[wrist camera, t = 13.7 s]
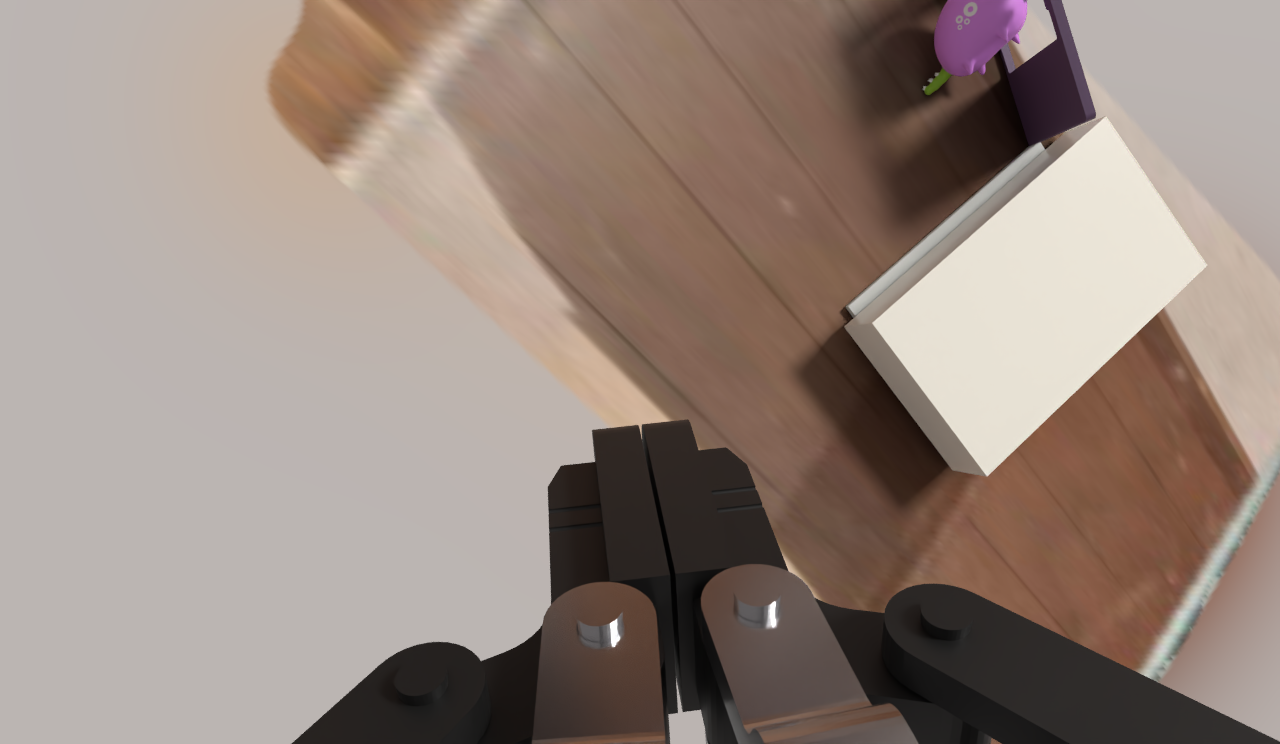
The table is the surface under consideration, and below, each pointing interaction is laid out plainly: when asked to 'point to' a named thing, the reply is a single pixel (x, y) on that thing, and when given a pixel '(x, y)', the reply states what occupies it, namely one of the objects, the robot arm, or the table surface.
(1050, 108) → the purple frame
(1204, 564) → the table surface
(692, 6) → the table surface
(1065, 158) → the off-white rectangular block
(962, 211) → the mat
